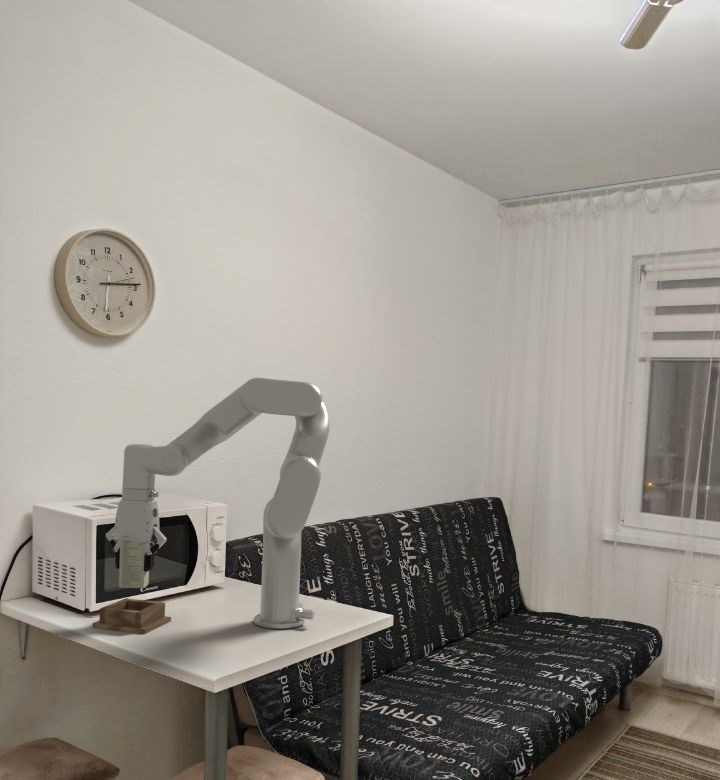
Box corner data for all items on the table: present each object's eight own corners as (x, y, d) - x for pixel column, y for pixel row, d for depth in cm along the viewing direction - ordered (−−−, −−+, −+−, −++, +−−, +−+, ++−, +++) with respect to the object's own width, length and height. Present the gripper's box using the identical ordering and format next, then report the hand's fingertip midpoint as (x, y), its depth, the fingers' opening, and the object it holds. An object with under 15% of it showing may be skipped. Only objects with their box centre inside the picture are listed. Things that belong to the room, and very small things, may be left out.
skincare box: (148, 584, 189) (151, 534, 190) (143, 588, 185) (146, 537, 185) (123, 583, 189) (125, 533, 190) (117, 587, 185) (119, 536, 185)
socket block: (170, 621, 191) (171, 602, 191) (145, 633, 179) (145, 614, 179) (120, 615, 194) (121, 597, 195) (92, 627, 183) (93, 608, 183)
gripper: (177, 496, 189) (174, 569, 188) (115, 491, 194) (111, 563, 193) (162, 499, 182) (158, 575, 181) (97, 494, 186) (93, 568, 186)
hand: (134, 568), depth 187 cm, fingers closed on skincare box, 6 cm apart
